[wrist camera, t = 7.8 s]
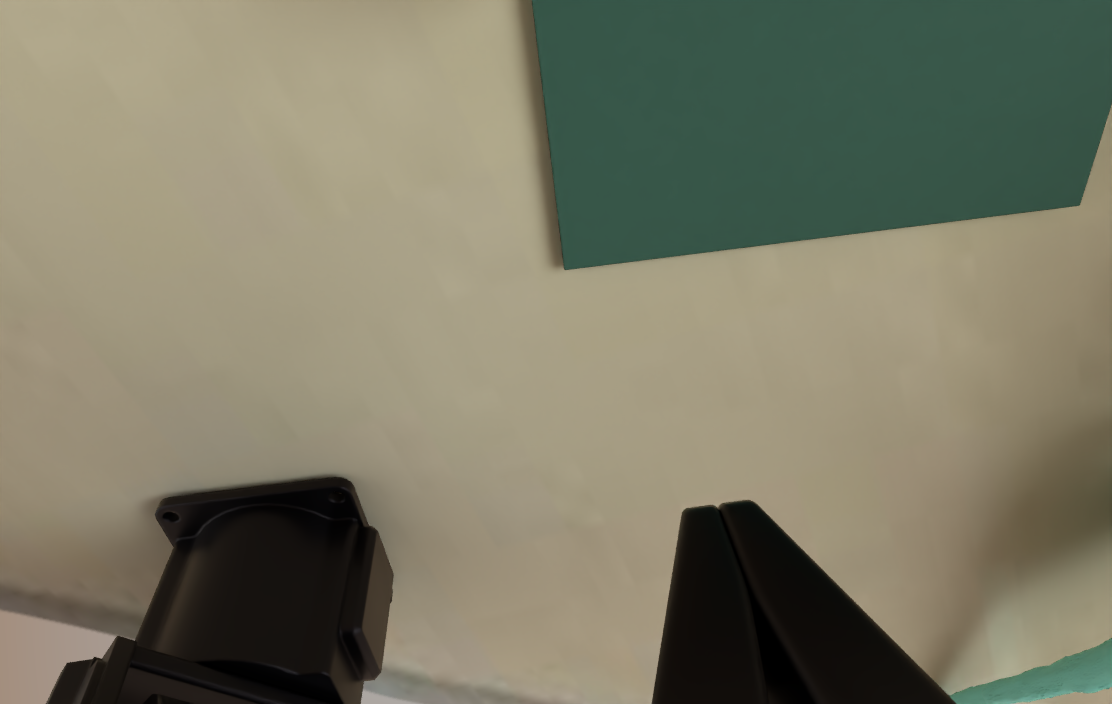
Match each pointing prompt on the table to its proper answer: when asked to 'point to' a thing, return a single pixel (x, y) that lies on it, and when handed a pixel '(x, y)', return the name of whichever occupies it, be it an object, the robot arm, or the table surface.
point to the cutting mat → (812, 117)
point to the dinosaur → (1047, 680)
